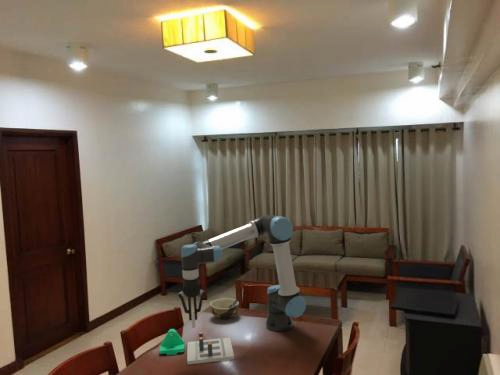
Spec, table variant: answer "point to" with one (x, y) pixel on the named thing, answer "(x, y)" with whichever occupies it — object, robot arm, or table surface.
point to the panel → (219, 350)
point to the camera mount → (172, 343)
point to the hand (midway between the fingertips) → (193, 326)
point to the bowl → (224, 307)
